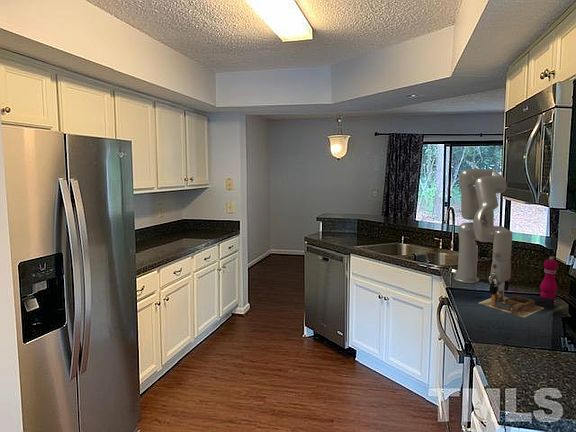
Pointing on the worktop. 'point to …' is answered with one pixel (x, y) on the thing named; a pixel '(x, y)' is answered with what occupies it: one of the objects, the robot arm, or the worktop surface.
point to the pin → (499, 303)
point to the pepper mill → (549, 279)
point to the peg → (500, 291)
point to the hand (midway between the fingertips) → (498, 292)
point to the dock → (524, 314)
